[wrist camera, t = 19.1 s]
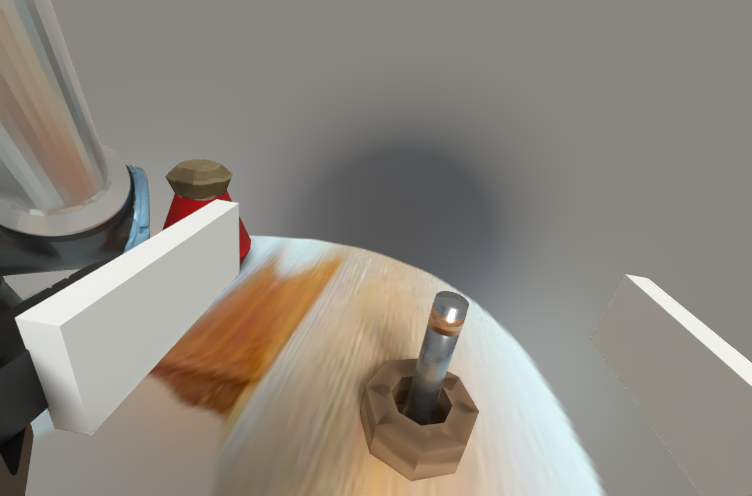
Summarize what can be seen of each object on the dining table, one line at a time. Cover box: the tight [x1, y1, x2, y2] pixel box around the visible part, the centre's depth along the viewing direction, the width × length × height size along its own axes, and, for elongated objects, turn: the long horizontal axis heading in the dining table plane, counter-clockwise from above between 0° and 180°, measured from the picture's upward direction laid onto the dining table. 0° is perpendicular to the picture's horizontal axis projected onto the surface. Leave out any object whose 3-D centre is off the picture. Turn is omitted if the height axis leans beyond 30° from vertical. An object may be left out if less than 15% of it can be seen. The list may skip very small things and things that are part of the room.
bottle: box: [162, 160, 251, 266], centre depth 57 cm, size 16×14×20 cm
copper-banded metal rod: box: [403, 291, 469, 426], centre depth 37 cm, size 3×3×18 cm
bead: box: [360, 359, 479, 481], centre depth 40 cm, size 12×12×4 cm
